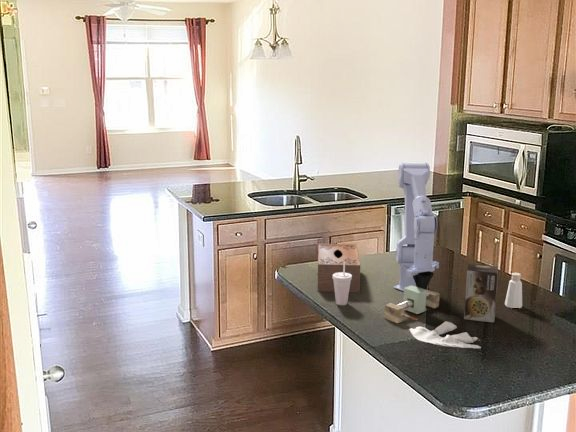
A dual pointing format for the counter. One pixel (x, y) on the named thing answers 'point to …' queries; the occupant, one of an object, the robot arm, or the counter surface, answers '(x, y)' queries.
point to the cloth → (450, 341)
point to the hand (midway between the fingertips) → (421, 293)
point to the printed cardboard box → (481, 293)
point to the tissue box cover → (337, 265)
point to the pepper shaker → (514, 292)
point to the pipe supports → (398, 310)
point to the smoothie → (342, 286)
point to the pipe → (410, 303)
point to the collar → (415, 298)
